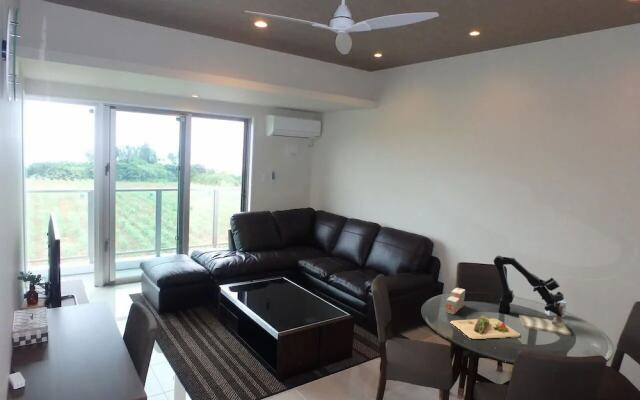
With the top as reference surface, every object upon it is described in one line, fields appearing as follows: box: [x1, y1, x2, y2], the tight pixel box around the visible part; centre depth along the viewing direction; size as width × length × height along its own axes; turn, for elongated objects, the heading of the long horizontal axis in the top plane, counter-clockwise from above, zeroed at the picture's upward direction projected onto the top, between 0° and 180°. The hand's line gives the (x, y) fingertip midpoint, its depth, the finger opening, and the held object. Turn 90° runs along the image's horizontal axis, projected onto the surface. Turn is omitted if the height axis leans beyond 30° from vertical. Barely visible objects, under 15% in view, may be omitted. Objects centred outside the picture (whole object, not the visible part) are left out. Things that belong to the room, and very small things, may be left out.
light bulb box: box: [544, 299, 567, 318], centre depth 268 cm, size 11×7×11 cm, turn 84°
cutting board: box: [449, 315, 521, 340], centre depth 239 cm, size 35×23×8 cm
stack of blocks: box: [445, 287, 466, 315], centre depth 268 cm, size 21×6×12 cm, turn 144°
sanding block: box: [551, 306, 566, 327], centre depth 249 cm, size 6×7×12 cm
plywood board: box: [518, 314, 572, 337], centre depth 250 cm, size 26×17×2 cm, turn 72°
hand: (562, 315), depth 248 cm, fingers closed on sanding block, 4 cm apart
